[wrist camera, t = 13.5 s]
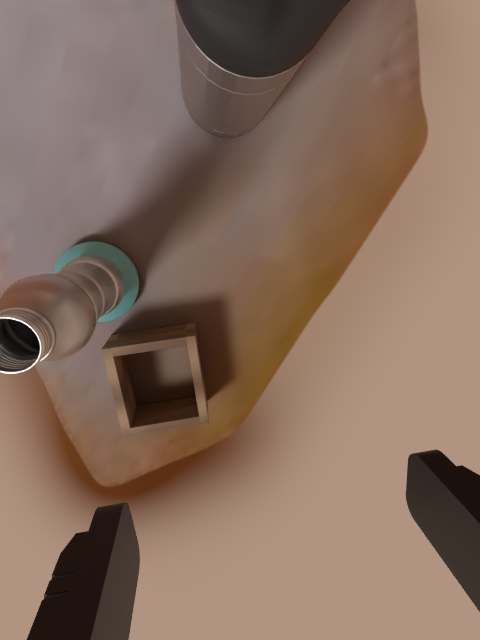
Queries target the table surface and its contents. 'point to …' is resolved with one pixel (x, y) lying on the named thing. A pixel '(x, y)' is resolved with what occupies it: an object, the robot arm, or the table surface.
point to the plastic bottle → (56, 312)
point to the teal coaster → (118, 260)
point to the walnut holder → (158, 413)
